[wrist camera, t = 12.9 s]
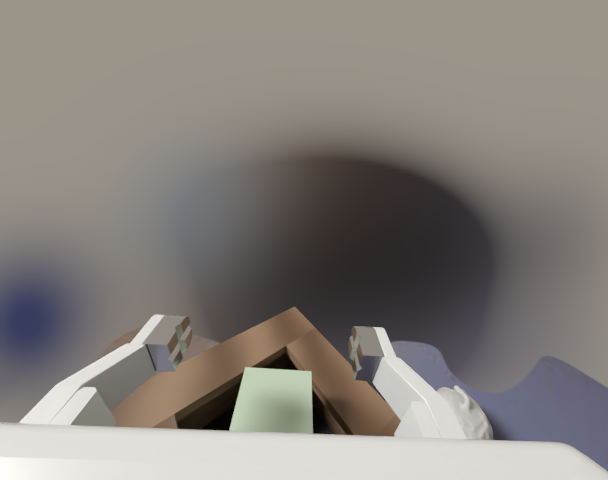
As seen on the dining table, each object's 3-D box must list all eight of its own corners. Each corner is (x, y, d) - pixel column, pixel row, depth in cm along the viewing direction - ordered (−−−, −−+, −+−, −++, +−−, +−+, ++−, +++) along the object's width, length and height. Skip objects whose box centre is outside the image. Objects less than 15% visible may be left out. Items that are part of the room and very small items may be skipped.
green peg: (249, 447, 20) (245, 367, 15) (297, 450, 20) (311, 371, 15) (235, 527, 16) (222, 456, 11) (295, 529, 16) (313, 461, 11)
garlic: (418, 390, 26) (433, 363, 24) (470, 413, 24) (492, 386, 22) (421, 451, 21) (442, 424, 19) (487, 484, 19) (519, 459, 17)
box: (289, 358, 28) (294, 306, 24) (404, 513, 17) (448, 466, 13) (139, 457, 19) (105, 400, 15) (182, 932, 8) (98, 1218, 4)
